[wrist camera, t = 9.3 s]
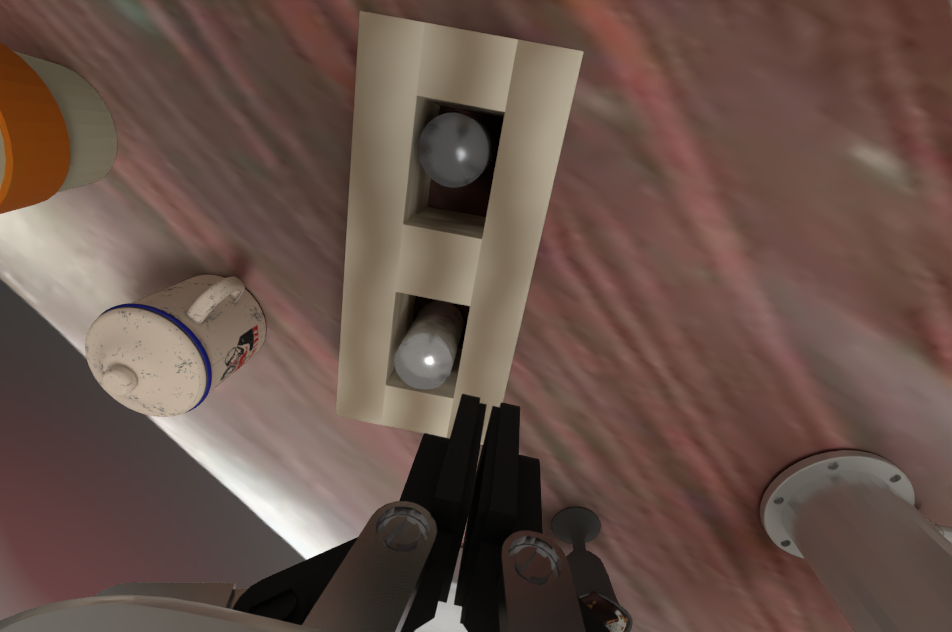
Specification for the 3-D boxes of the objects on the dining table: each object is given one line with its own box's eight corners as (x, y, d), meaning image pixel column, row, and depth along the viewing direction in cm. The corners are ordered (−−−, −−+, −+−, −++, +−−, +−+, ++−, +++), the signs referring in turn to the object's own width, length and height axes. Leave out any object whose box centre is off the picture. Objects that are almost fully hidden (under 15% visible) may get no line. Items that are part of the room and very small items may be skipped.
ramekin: (406, 600, 52) (395, 648, 47) (409, 531, 48) (396, 575, 43) (500, 614, 52) (498, 663, 47) (511, 545, 47) (510, 591, 43)
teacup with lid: (236, 380, 42) (140, 462, 32) (156, 316, 41) (25, 380, 30) (308, 300, 39) (228, 362, 28) (223, 225, 37) (102, 261, 26)
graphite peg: (499, 124, 31) (494, 119, 24) (489, 182, 33) (481, 193, 26) (444, 113, 31) (422, 106, 24) (436, 172, 33) (414, 180, 26)
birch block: (567, 72, 30) (583, 51, 23) (497, 390, 40) (492, 446, 33) (397, 41, 31) (359, 10, 23) (369, 365, 41) (335, 415, 33)
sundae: (573, 558, 47) (596, 732, 33) (530, 522, 46) (535, 688, 32) (622, 528, 45) (669, 701, 31) (579, 489, 44) (608, 652, 30)
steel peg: (467, 305, 37) (455, 344, 30) (459, 348, 38) (446, 394, 31) (420, 296, 37) (397, 333, 30) (414, 339, 38) (391, 383, 31)
